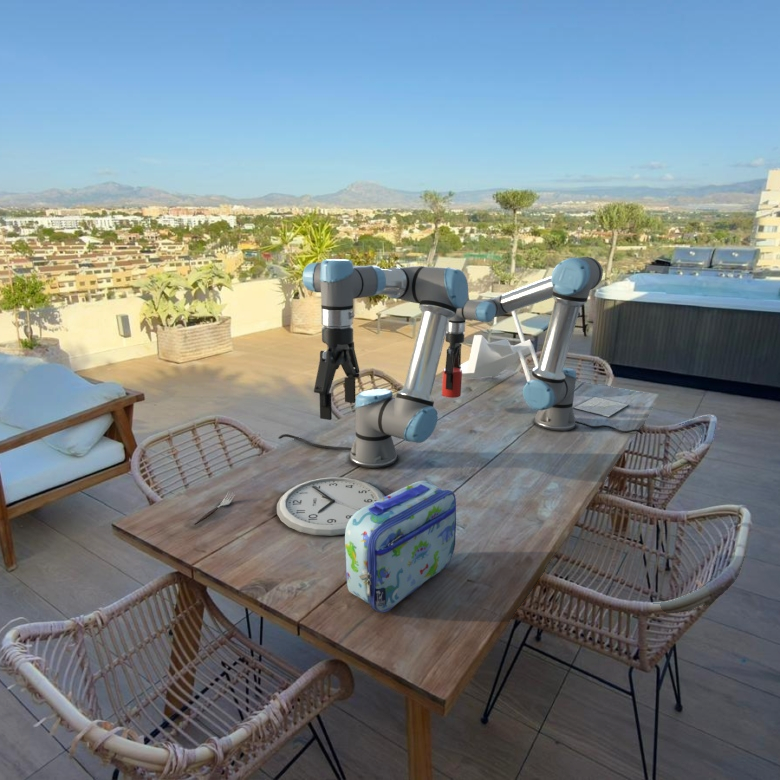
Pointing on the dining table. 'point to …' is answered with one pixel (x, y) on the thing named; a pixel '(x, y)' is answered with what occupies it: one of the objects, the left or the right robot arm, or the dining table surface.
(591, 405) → the invitation card
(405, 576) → the lunch box
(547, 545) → the dining table surface
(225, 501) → the fork
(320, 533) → the wall clock
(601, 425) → the right robot arm
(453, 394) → the canister
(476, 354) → the white plastic object
